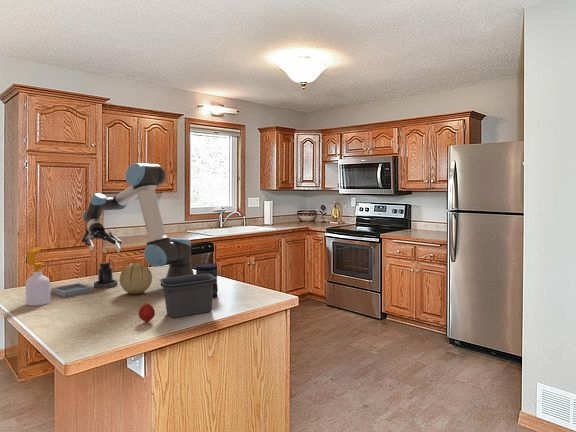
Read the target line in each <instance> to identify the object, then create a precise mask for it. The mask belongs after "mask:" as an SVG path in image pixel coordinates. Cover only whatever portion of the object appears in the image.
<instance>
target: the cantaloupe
mask: <svg viewBox="0 0 576 432" xmlns="http://www.w3.org/2000/svg"><path fill="white" fill-rule="evenodd" d="M152 281H153V274H152V271H151V269H150V268H149V267H148V266H146V265H145V264H142V263H138V262H137V261H134V262H133V263H130V264H128V265H126V266H125V267H123V269H122V270H121V272H120V275H119V284H120V286H121V289H123V291H125V292H126V293H128V294H131V295H138V294H142V293H144V292H146V291H147V290H148V289H149V288H150V287H151V284H152Z"/></svg>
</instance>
